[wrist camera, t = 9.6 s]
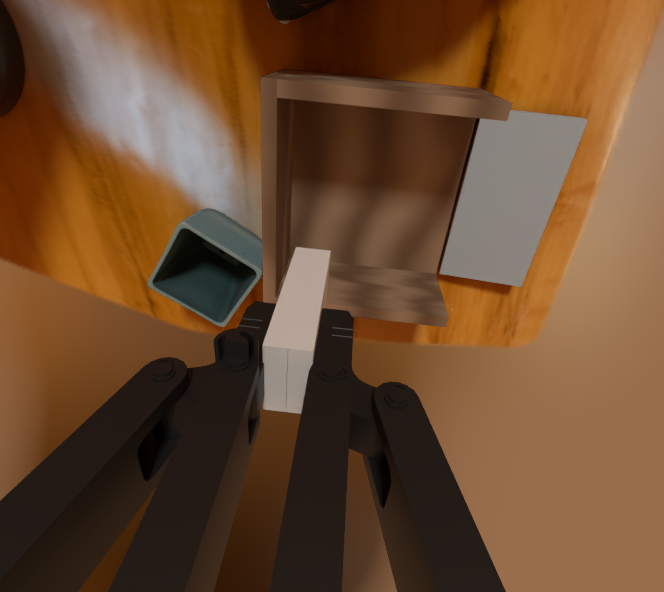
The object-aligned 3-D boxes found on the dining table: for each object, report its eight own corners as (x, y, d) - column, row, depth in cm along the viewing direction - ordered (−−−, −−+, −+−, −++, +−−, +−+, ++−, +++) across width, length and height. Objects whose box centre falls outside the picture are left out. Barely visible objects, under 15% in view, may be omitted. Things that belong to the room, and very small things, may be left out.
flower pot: (244, 286, 50) (222, 330, 42) (180, 246, 48) (144, 286, 40) (281, 234, 46) (264, 272, 38) (212, 188, 43) (179, 220, 36)
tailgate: (439, 273, 45) (521, 286, 44) (483, 108, 36) (588, 120, 35) (438, 268, 46) (519, 281, 46) (481, 106, 37) (583, 118, 36)
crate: (280, 261, 48) (263, 306, 40) (283, 68, 37) (260, 77, 29) (432, 278, 47) (445, 327, 39) (480, 88, 36) (512, 103, 28)
